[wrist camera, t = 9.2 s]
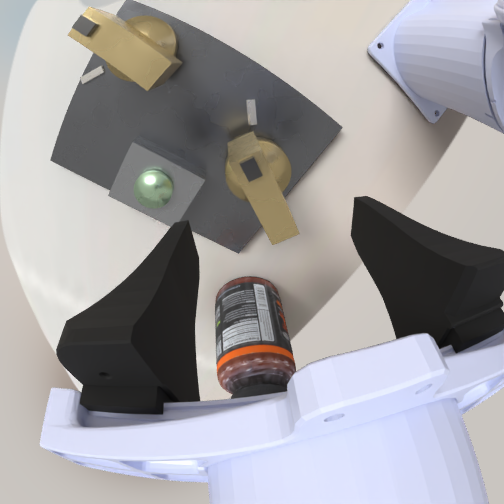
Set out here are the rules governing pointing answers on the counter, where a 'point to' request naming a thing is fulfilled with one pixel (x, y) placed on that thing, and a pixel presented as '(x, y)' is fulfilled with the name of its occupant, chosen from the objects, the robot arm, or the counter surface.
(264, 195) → the knob
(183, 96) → the instrument base
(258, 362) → the supplement bottle
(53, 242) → the counter surface
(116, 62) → the knob
